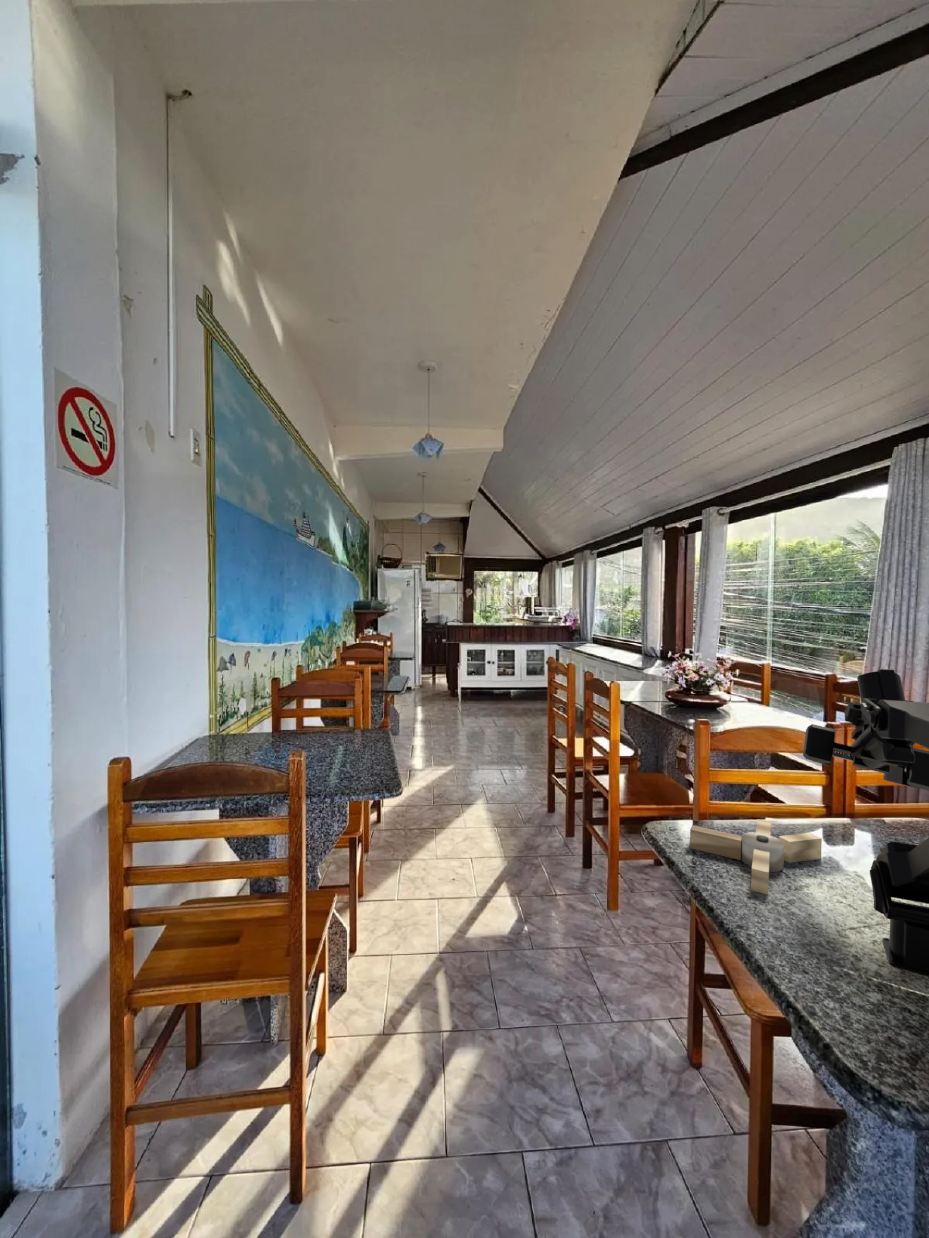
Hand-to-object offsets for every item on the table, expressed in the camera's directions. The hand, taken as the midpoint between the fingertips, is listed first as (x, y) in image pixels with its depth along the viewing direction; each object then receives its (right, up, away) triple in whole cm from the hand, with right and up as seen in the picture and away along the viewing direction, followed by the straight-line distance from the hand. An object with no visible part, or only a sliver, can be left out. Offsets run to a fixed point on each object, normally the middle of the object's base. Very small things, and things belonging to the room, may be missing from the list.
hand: (854, 769), depth 97 cm
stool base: (-20, -18, +4) cm, 27 cm away
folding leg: (-8, -18, +4) cm, 20 cm away
